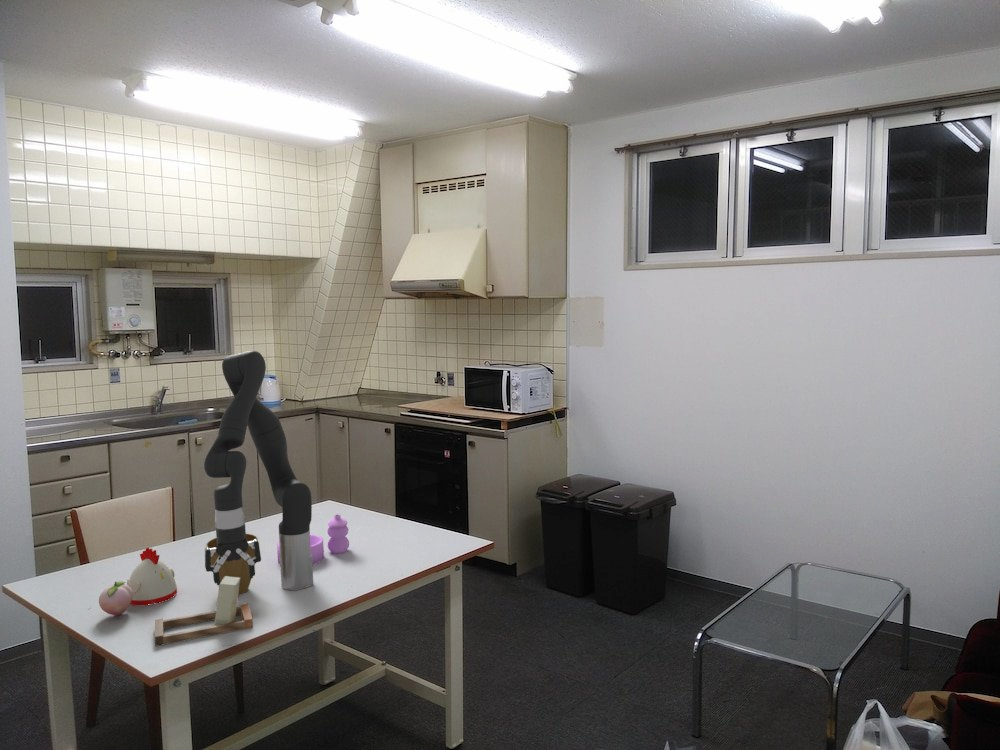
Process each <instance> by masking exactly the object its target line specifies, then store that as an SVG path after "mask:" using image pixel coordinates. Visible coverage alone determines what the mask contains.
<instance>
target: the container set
mask: <svg viewBox="0 0 1000 750" xmlns="http://www.w3.org/2000/svg"><path fill="white" fill-rule="evenodd" d="M333 516H334V518H331V519H330V520H329V521H328V522H327V526H328V528H327V535H328V537H330V539H329V540H328V542H327V548H328V550H329V551H330V553H332V554H334V555H340V554H344V553H345V552H347V551H348V549H349V547H350V541H349V538H348V537H347V535H348V534H349V527H348V521H347V519H345V518H343V517H341V514H339V513H338V514H334V515H333ZM310 549H311V555H312V564H313V565H316V564H318V563H321V562H322V561H323V560H324V558H325V553H324V552H325V550H324V538H323V537H322V536H320V535H316V534H310ZM276 550H277V553H276V554H277V563H279V564H280V545H279V541H278V542H277V543H276ZM279 564H278V565H279Z"/></svg>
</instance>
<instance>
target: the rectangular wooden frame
mask: <svg viewBox="0 0 1000 750" xmlns="http://www.w3.org/2000/svg"><path fill="white" fill-rule="evenodd" d="M215 616H216V610H212V611H207V612H201V613H196V614H190V615H189V614H188V615H184V616H179V617H172V618H168V619H167V618H166V619H164V618H162V617H161V618H157V619H154V646H155V647H157V645H159V646H163V645H162V644H164V645H168V644H167V643H169V644H173V642H175V643H180V642H184V640H185V641H190V640H194V639H200V637H201V638H205V636H206V637H210V636H217V635H220V634H226V633H231V632H237V631H242V630H248V629H253V628H254V626H253V616H252V613H251V609H250V606H249V604H248V603H242V604H240V606H237V609H236V616H241V619H242V620H239V621H234V622H232V623H227V624H221V625H216V626H214V625H211V626H206V627H201V628H195V629H190V630H184V631H179V632H173V633H169V634H165V633H164V630H165V629H164V628H166V629H170V627H171V628H176V627H175V626H177V627H181V625H182V626H187V625H186V624H188V625H192V624H191V623H193V624H198V623H197V622H199V623H204V622H208V620H210V621H215ZM213 619H214V620H213ZM203 621H204V622H203ZM189 639H190V640H189ZM179 641H180V642H179Z"/></svg>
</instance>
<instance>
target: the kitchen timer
mask: <svg viewBox="0 0 1000 750" xmlns="http://www.w3.org/2000/svg"><path fill="white" fill-rule="evenodd" d="M139 556H140V559H141V561H140V562H139V563H138V564H137V565H136V566H135V568H134V569H133V570H132V572H131V574H130V576H129V579H126V585H128V586H129V587H130V588H131V589H132V591H133V597H132V600H131V603H130V604H132V606H135V605H145V606H149V605H148V604H153V605H155V604H154V603H158V604H160V603H159V602H161V603H163V602H162V601H164V602H166V601H165V600H167V601H169V600H171V599H172V598H171V597H173V596H174V595H175V594H176V593H177V592H178V586H177V583H176V579H175V576H176V575H175V571H174V569H173V568H169V567H168V566H167V564H166V563H165V562H163V561H162V560H160V554H157V550H156V549H154V550H153V548H152V547H151V548H150V547H146V548H145V549H144V550H143V551H142V552H141V553H139ZM176 595H177V594H176ZM176 595H175V596H176ZM175 596H174V597H175ZM174 597H173V598H174ZM170 598H171V599H170ZM168 599H169V600H168Z"/></svg>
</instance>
